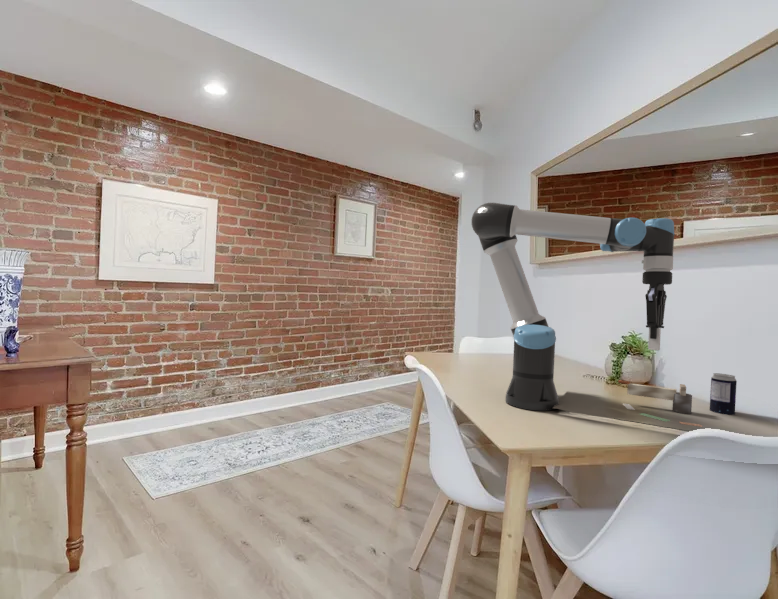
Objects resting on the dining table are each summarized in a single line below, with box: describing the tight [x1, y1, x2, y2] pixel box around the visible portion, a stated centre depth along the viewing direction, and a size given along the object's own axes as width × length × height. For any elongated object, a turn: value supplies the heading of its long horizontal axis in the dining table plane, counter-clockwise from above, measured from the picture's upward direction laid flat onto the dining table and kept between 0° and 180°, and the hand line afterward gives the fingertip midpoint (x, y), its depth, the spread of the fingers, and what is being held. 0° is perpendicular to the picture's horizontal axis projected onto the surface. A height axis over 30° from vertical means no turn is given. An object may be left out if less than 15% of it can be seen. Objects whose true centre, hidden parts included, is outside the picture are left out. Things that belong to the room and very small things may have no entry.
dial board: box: [613, 403, 703, 432], centre depth 117 cm, size 20×18×1 cm
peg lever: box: [618, 379, 693, 415], centre depth 123 cm, size 18×4×7 cm, turn 59°
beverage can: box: [709, 373, 738, 416], centre depth 121 cm, size 6×6×12 cm
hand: (653, 349), depth 127 cm, fingers closed
